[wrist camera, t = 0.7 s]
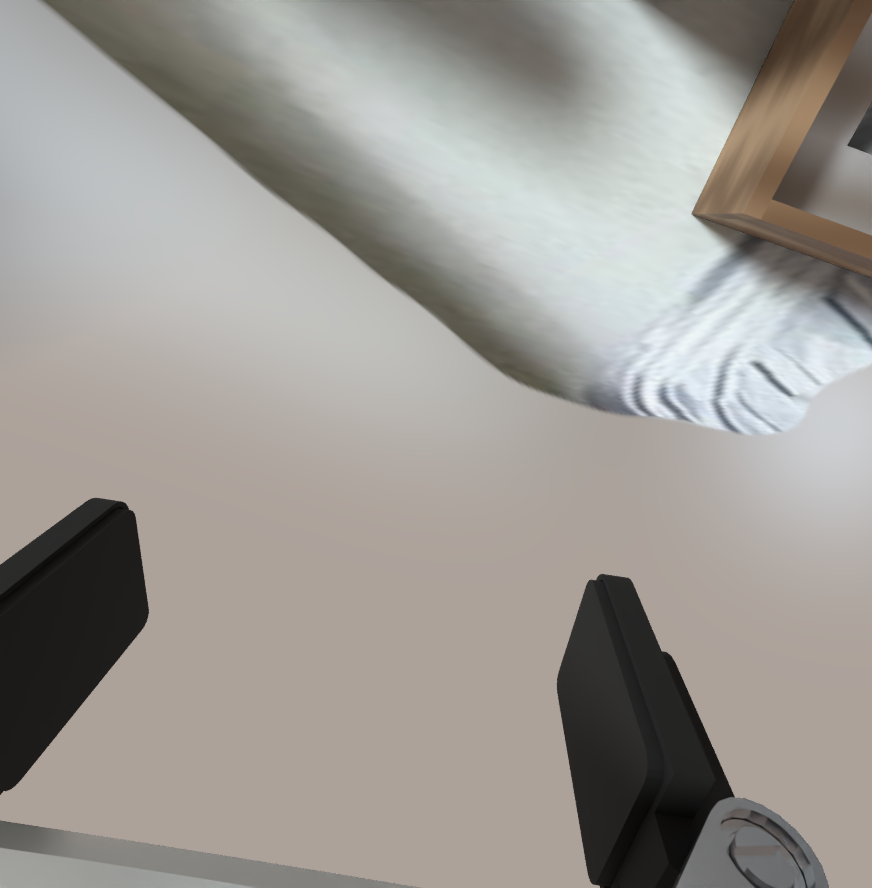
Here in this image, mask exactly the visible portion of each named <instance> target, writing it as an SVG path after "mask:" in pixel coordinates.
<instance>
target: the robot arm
mask: <svg viewBox="0 0 872 888" xmlns="http://www.w3.org/2000/svg"><path fill="white" fill-rule="evenodd" d="M148 614H149V609H148V601H147V594H146V587H145V580H144V573H143V566H142V559H141V552H140V545H139V538H138V532H137V524H136V517H135V514H134V512H133V511H131V510H129V508H128V506H127V505H126V503H124V502H121V501H114V500H107V499H100V498H92V499H90V500H88V501H86V502H85V503H84V504H83V505H81V506H80V507H78V508H77V509H76V510H74V511H73V512H71V513H70V514H69V515H67V516H66V517H65V518H63V519H62V520H61V521H59V522H58V523H56V524H55V525H54V526H52V527H51V528H50V529H48V530H47V531H46V532H44V533H43V534H41V535H40V536H39V537H37V538H36V539H35V540H33V541H32V542H31V543H29V544H28V545H27V546H25V547H24V548H22V550H20V551H18V552H17V553H16V554H15V555H13V556H12V557H10V558H9V559H7V560H6V561H5V562H4V563H2V564H1V565H0V795H1V793H2V792H3V791H7V790H10V789H12V788H13V787H14V786H16V784H17V783H18V782H19V781H20V780H21V779H22V778H23V777H24V775H25V774H26V773H27V772H28V770H29V769H30V768H31V767H32V765H33V764H34V763H35V762H36V760H37V759H38V758H39V757H40V756H41V754H42V753H43V752H44V751H45V749H46V748H47V747H48V746H49V744H50V743H51V742H52V741H53V739H54V738H55V737H56V736H57V734H58V733H59V732H60V731H61V730H62V728H63V727H64V726H65V725H66V723H67V722H68V721H69V720H70V718H71V717H72V716H73V715H74V713H75V712H76V711H77V709H78V708H79V707H80V706H81V705H82V703H83V702H84V701H85V700H86V698H87V697H88V696H89V695H90V694H91V692H92V691H93V690H94V689H95V687H96V686H97V685H98V684H99V682H100V681H101V680H102V679H103V677H104V676H105V675H106V674H107V672H108V671H109V670H110V669H111V667H112V666H113V665H114V664H115V662H116V661H117V660H118V659H119V658H120V656H121V655H122V654H123V653H124V651H125V650H126V649H127V647H128V646H129V645H130V644H131V643H132V641H133V640H134V639H135V638H136V636H137V635H138V634H139V633H140V632H141V630H142V629H143V627H144V626H145V623H146V622H147V618H148ZM557 693H558V699H559V705H560V711H561V717H562V723H563V729H564V734H565V741H566V746H567V753H568V759H569V764H570V770H571V777H572V782H573V788H574V794H575V800H576V806H577V812H578V818H579V824H580V830H581V836H582V842H583V848H584V854H585V860H586V866H587V871H588V876H589V879H590V881H591V883H592V884H594V885H599V886H600V888H829V885H828V882H827V879H826V876H825V873H824V870H823V867H822V865H821V863H820V862H819V860H818V858H817V857H816V855H815V853H814V852H813V850H812V848H811V847H810V846H809V845H808V843H807V842H806V841H805V840H804V839H803V837H802V836H801V835H800V834H799V833H798V832H797V830H796V829H795V828H793V827H792V826H791V825H790V824H789V823H788V822H787V821H785V820H784V819H783V818H782V817H781V816H780V815H778V814H776V813H775V812H773V811H772V810H770V809H768V808H766V807H765V806H763V805H762V804H759V803H756V802H753V801H751V800H748V799H745V798H735V797H734V794H733V792H732V790H731V787H730V785H729V783H728V781H727V778H726V776H725V774H724V772H723V769H722V767H721V765H720V763H719V760H718V758H717V756H716V754H715V751H714V749H713V747H712V745H711V742H710V740H709V738H708V735H707V733H706V731H705V729H704V726H703V724H702V722H701V720H700V718H699V715H698V713H697V711H696V708H695V706H694V704H693V702H692V699H691V697H690V695H689V693H688V690H687V688H686V686H685V684H684V681H683V679H682V677H681V674H680V672H679V670H678V668H677V665H676V663H675V661H674V660H673V658H672V656H671V655H669V654H668V653H667V652H662V651H661V649H660V646H659V644H658V642H657V639H656V637H655V635H654V632H653V630H652V627H651V625H650V623H649V620H648V618H647V616H646V613H645V611H644V609H643V606H642V604H641V602H640V599H639V597H638V594H637V592H636V590H635V587H634V585H633V583H632V581H631V580H630V579H629V578H625V577H619V576H612V575H605V574H601V575H599V576H598V577H597V580H589V581H588V583H587V585H586V589H585V592H584V595H583V598H582V601H581V604H580V607H579V610H578V613H577V617H576V620H575V623H574V626H573V629H572V632H571V636H570V638H569V642H568V645H567V648H566V651H565V654H564V657H563V661H562V663H561V667H560V670H559V674H558V678H557ZM0 888H419V887H413V886H407V885H401V884H395V883H388V882H383V881H377V880H371V879H365V878H358V877H353V876H347V875H341V874H335V873H329V872H322V871H316V870H310V869H304V868H298V867H291V866H285V865H279V864H273V863H267V862H260V861H254V860H247V859H242V858H236V857H229V856H223V855H217V854H210V853H204V852H198V851H192V850H185V849H179V848H173V847H166V846H160V845H153V844H148V843H141V842H135V841H129V840H122V839H115V838H109V837H103V836H96V835H90V834H83V833H77V832H70V831H64V830H57V829H51V828H44V827H38V826H31V825H25V824H18V823H11V822H5V821H0Z"/></svg>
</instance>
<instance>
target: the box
mask: <svg viewBox="0 0 872 888" xmlns="http://www.w3.org/2000/svg"><path fill="white" fill-rule="evenodd" d="M871 103H872V0H794V2H793V4H792V6H791V8H790V10H789V12H788V14H787V16H786V18H785V20H784V23H783V25H782V27H781V29H780V31H779V33H778V35H777V37H776V39H775V41H774V43H773V45H772V48H771V50H770V52H769V54H768V56H767V58H766V60H765V62H764V64H763V66H762V68H761V70H760V72H759V75H758V77H757V79H756V81H755V83H754V85H753V87H752V89H751V91H750V93H749V95H748V97H747V99H746V102H745V104H744V106H743V108H742V110H741V112H740V114H739V116H738V118H737V120H736V122H735V124H734V126H733V129H732V131H731V133H730V135H729V137H728V139H727V141H726V143H725V145H724V147H723V149H722V151H721V153H720V156H719V158H718V160H717V162H716V164H715V166H714V168H713V170H712V172H711V174H710V176H709V178H708V180H707V183H706V185H705V187H704V189H703V191H702V193H701V195H700V197H699V199H698V201H697V203H696V205H695V207H694V210H693V212H692V214H693V215H696V216H699V217H702V218H705V219H707V220H710V221H713V222H716V223H719V224H721V225H724V226H727V227H730V228H733V229H736V230H738V231H741V232H744V233H747V234H750V235H752V236H755V237H758V238H761V239H764V240H766V241H769V242H772V243H775V244H778V245H781V246H783V247H786V248H789V249H792V250H795V251H797V252H800V253H803V254H806V255H809V256H811V257H814V258H817V259H820V260H823V261H826V262H828V263H831V264H834V265H837V266H840V267H842V268H845V269H848V270H851V271H854V272H857V273H859V274H862V275H865V276H868V277H871V278H872V155H871V154H868V153H865V152H863V151H860V150H857V149H855V148H852V147H849V146H847V145H848V143H849V141H850V139H851V138H852V136H853V134H854V132H855V131H856V129H857V127H858V125H859V124H860V122H861V120H862V118H863V117H864V115H865V113H866V111H867V110H868V108H869V106H870V104H871Z"/></svg>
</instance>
